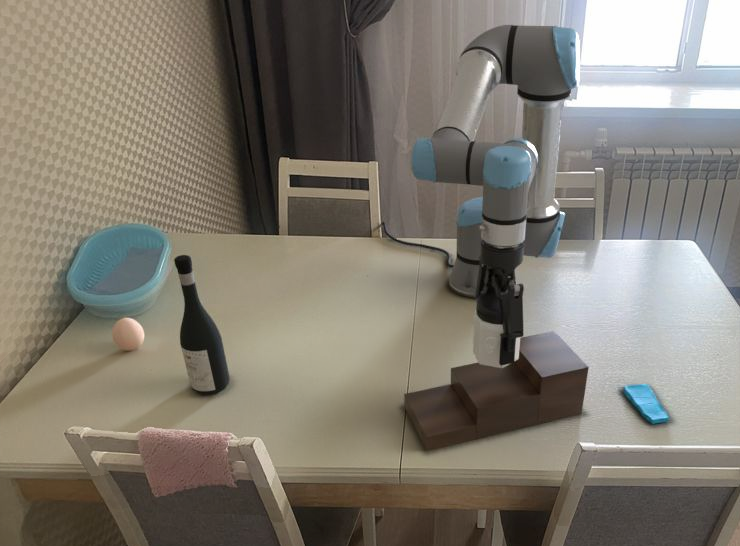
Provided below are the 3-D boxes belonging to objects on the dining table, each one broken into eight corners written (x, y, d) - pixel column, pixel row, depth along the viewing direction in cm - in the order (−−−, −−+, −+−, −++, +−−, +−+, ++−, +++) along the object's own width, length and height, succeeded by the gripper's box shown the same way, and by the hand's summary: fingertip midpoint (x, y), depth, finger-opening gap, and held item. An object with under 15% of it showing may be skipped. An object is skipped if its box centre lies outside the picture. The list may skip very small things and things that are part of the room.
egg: (110, 353, 155) (101, 323, 151) (130, 338, 160) (122, 309, 156) (134, 358, 153) (125, 329, 149) (153, 343, 159) (145, 314, 154)
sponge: (642, 421, 133) (671, 416, 133) (621, 385, 143) (648, 381, 143) (641, 427, 134) (670, 422, 134) (621, 391, 144) (648, 386, 144)
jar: (467, 363, 128) (469, 308, 121) (478, 341, 135) (480, 287, 128) (514, 371, 126) (518, 315, 119) (522, 348, 132) (527, 294, 126)
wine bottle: (209, 401, 140) (179, 270, 124) (183, 389, 144) (150, 260, 127) (238, 381, 146) (213, 254, 129) (212, 370, 149) (184, 245, 133)
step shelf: (404, 407, 139) (402, 361, 132) (549, 375, 148) (554, 330, 142) (426, 451, 128) (426, 402, 121) (581, 413, 137) (588, 367, 130)
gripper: (459, 220, 125) (457, 325, 137) (509, 270, 108) (501, 385, 120) (496, 214, 127) (491, 318, 139) (551, 263, 110) (539, 377, 122)
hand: (496, 349), depth 129 cm, fingers closed on jar, 9 cm apart
